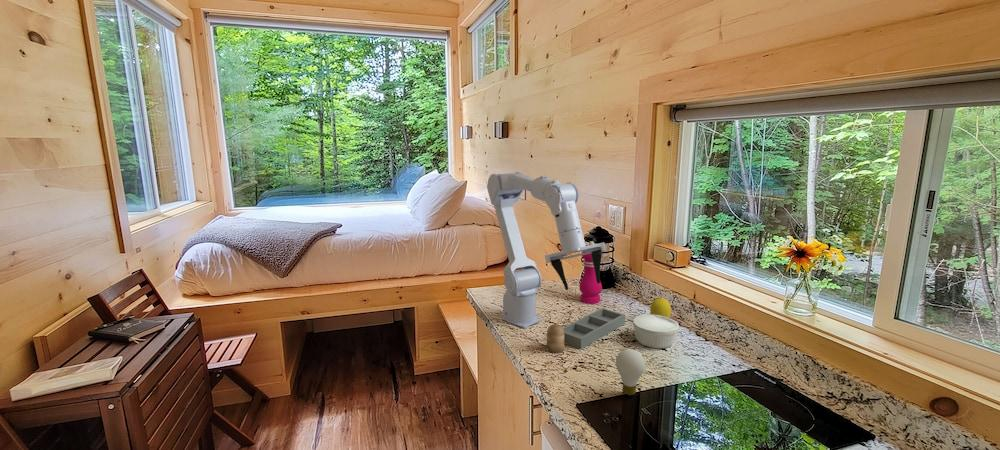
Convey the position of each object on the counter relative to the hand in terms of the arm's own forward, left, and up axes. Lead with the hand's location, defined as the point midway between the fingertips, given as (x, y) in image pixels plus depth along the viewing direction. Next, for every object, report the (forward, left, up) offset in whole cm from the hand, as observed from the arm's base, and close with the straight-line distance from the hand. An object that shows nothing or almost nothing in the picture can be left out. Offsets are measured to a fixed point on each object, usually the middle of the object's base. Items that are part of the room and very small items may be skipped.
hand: (582, 286), depth 108 cm
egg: (-7, -2, -18) cm, 19 cm away
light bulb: (+17, -7, -18) cm, 26 cm away
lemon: (+5, +31, -18) cm, 36 cm away
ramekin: (+9, +20, -18) cm, 28 cm away
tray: (-6, +13, -18) cm, 23 cm away
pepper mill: (-20, +33, -18) cm, 42 cm away
